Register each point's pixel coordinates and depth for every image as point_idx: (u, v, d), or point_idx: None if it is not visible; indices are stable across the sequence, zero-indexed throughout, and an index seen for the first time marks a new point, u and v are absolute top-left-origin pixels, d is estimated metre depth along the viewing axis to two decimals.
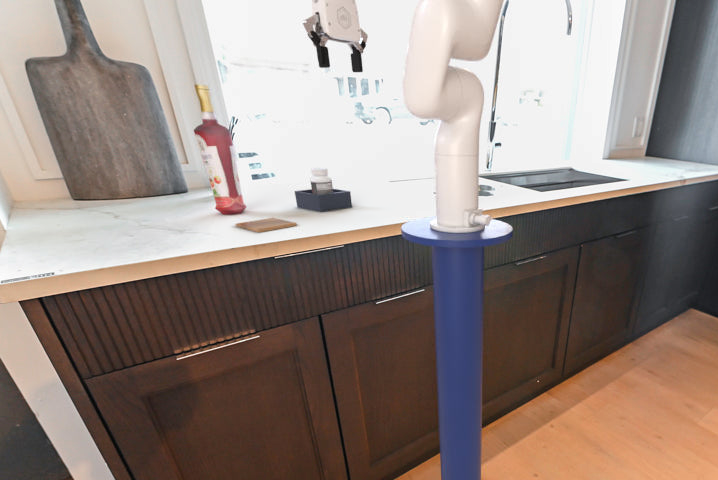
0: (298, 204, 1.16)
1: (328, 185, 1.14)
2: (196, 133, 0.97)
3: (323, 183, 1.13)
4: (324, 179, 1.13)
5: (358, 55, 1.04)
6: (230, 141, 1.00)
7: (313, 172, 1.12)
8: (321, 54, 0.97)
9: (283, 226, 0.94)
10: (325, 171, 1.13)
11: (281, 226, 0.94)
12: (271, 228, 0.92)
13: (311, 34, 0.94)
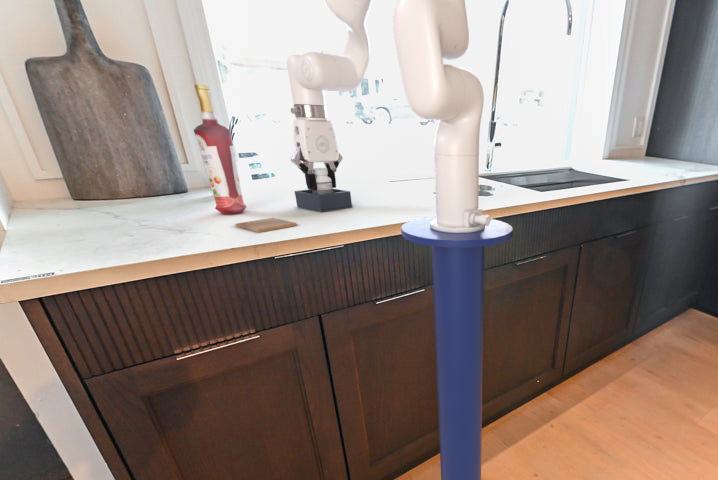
0: (298, 204, 1.16)
1: (328, 185, 1.14)
2: (196, 133, 0.97)
3: (323, 183, 1.13)
4: (324, 179, 1.13)
5: (331, 174, 1.16)
6: (230, 141, 1.00)
7: (313, 172, 1.12)
8: (309, 180, 1.11)
9: (283, 226, 0.94)
10: (325, 171, 1.13)
11: (281, 226, 0.94)
12: (271, 228, 0.92)
13: (300, 166, 1.09)
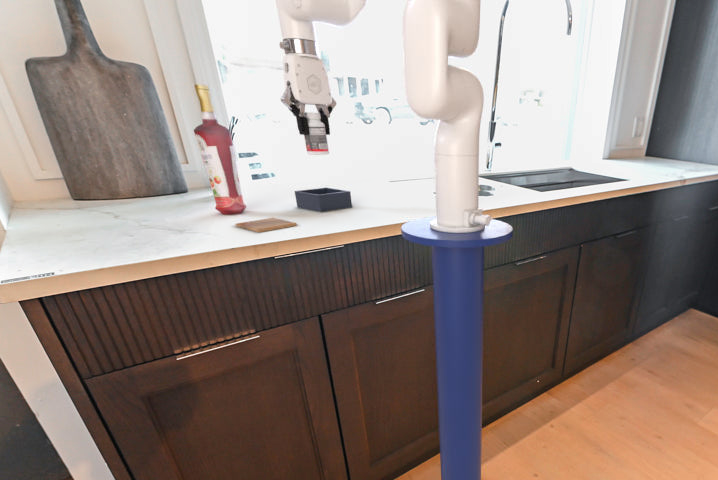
0: (298, 204, 1.16)
1: (321, 130, 1.08)
2: (196, 133, 0.97)
3: (316, 128, 1.07)
4: (317, 123, 1.07)
5: (325, 119, 1.09)
6: (230, 141, 1.00)
7: (305, 116, 1.06)
8: (301, 124, 1.05)
9: (283, 226, 0.94)
10: (317, 114, 1.07)
11: (281, 226, 0.94)
12: (271, 228, 0.92)
13: (291, 107, 1.02)
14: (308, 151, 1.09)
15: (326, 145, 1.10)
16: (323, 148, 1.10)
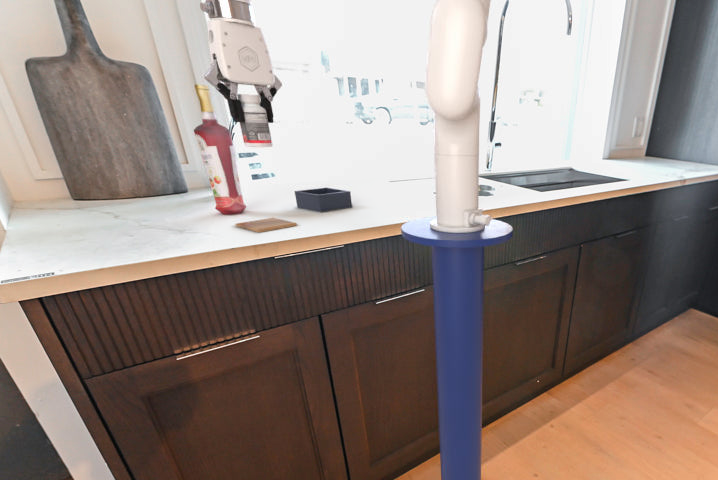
0: (298, 204, 1.16)
1: (260, 116, 0.87)
2: (196, 133, 0.97)
3: (253, 114, 0.86)
4: (254, 108, 0.86)
5: (266, 104, 0.89)
6: (230, 141, 1.00)
7: (239, 98, 0.85)
8: (233, 108, 0.84)
9: (283, 226, 0.94)
10: (255, 97, 0.86)
11: (281, 226, 0.94)
12: (271, 228, 0.92)
13: (219, 87, 0.82)
14: (245, 143, 0.89)
15: (268, 135, 0.90)
16: (263, 139, 0.89)
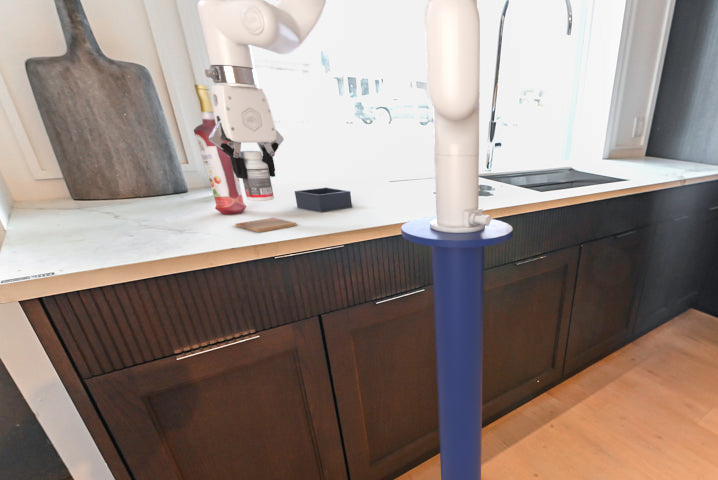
0: (298, 204, 1.16)
1: (263, 172, 0.90)
2: (196, 133, 0.97)
3: (255, 170, 0.88)
4: (257, 164, 0.88)
5: (268, 159, 0.91)
6: None
7: (242, 156, 0.88)
8: (236, 166, 0.87)
9: (283, 226, 0.94)
10: (258, 154, 0.88)
11: (281, 226, 0.94)
12: (271, 228, 0.92)
13: (222, 147, 0.84)
14: (247, 197, 0.91)
15: (270, 189, 0.92)
16: (265, 193, 0.91)
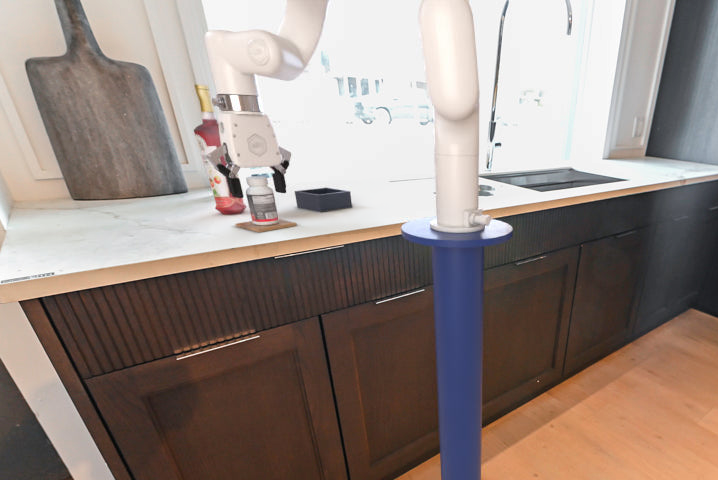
0: (298, 204, 1.16)
1: (268, 197, 0.92)
2: (196, 133, 0.97)
3: (261, 196, 0.91)
4: (262, 190, 0.91)
5: (280, 177, 0.94)
6: None
7: (248, 182, 0.90)
8: (232, 186, 0.87)
9: (283, 226, 0.94)
10: (263, 180, 0.91)
11: (281, 226, 0.94)
12: (271, 228, 0.92)
13: (218, 167, 0.84)
14: (253, 221, 0.93)
15: (275, 213, 0.94)
16: (271, 218, 0.93)
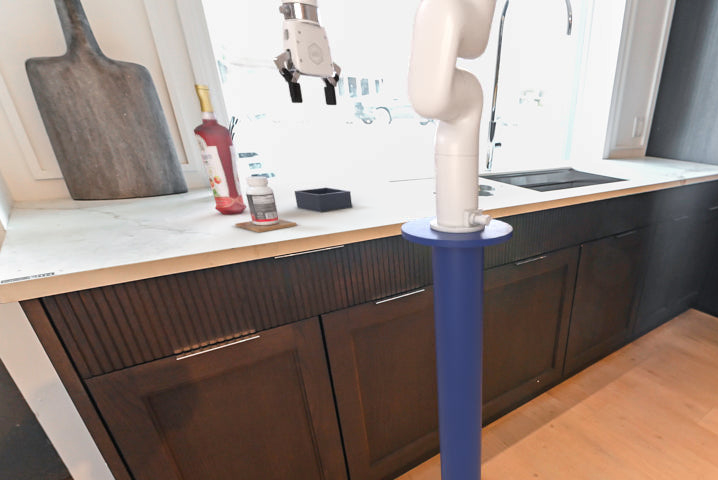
0: (298, 204, 1.16)
1: (268, 197, 0.92)
2: (196, 133, 0.97)
3: (261, 196, 0.91)
4: (262, 190, 0.91)
5: (331, 89, 1.04)
6: (230, 141, 1.00)
7: (248, 182, 0.90)
8: (293, 90, 0.97)
9: (283, 226, 0.94)
10: (263, 180, 0.91)
11: (281, 226, 0.94)
12: (271, 228, 0.92)
13: (282, 71, 0.94)
14: (253, 221, 0.93)
15: (275, 213, 0.94)
16: (271, 218, 0.93)
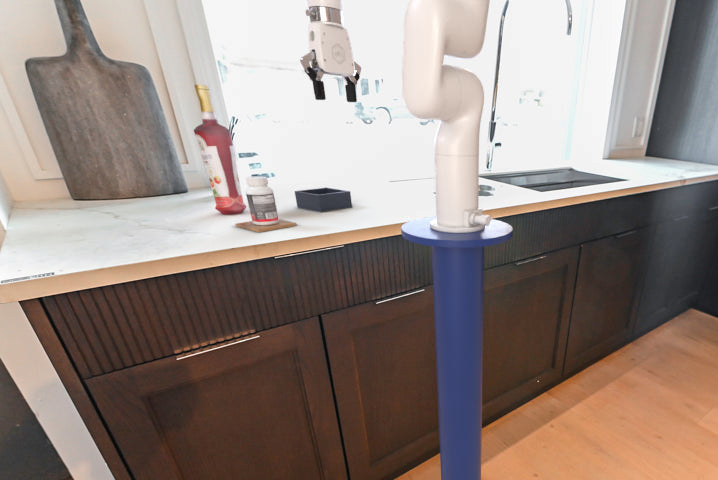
0: (298, 204, 1.16)
1: (268, 197, 0.92)
2: (196, 133, 0.97)
3: (261, 196, 0.91)
4: (262, 190, 0.91)
5: (352, 87, 1.11)
6: (230, 141, 1.00)
7: (248, 182, 0.90)
8: (317, 88, 1.04)
9: (283, 226, 0.94)
10: (263, 180, 0.91)
11: (281, 226, 0.94)
12: (271, 228, 0.92)
13: (308, 70, 1.01)
14: (253, 221, 0.93)
15: (275, 213, 0.94)
16: (271, 218, 0.93)
